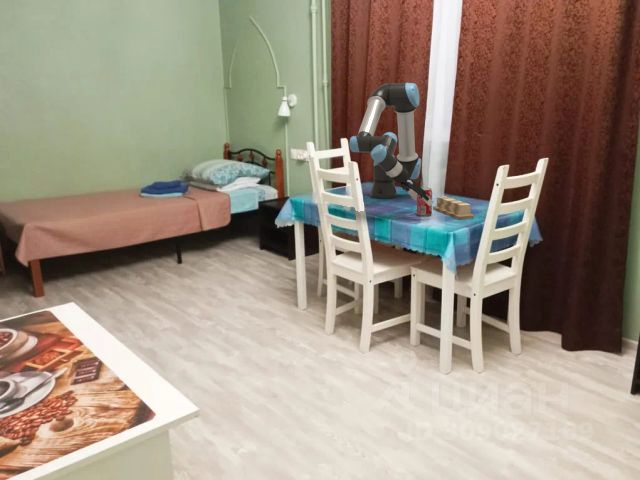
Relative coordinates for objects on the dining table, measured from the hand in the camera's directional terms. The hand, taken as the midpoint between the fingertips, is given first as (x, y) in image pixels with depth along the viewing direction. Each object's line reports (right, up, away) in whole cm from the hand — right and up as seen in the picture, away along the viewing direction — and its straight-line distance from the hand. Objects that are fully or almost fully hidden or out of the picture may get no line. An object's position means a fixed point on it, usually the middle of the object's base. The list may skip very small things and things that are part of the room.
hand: (424, 201), depth 248 cm
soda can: (0, -7, +2) cm, 7 cm away
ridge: (+15, -6, +4) cm, 16 cm away
